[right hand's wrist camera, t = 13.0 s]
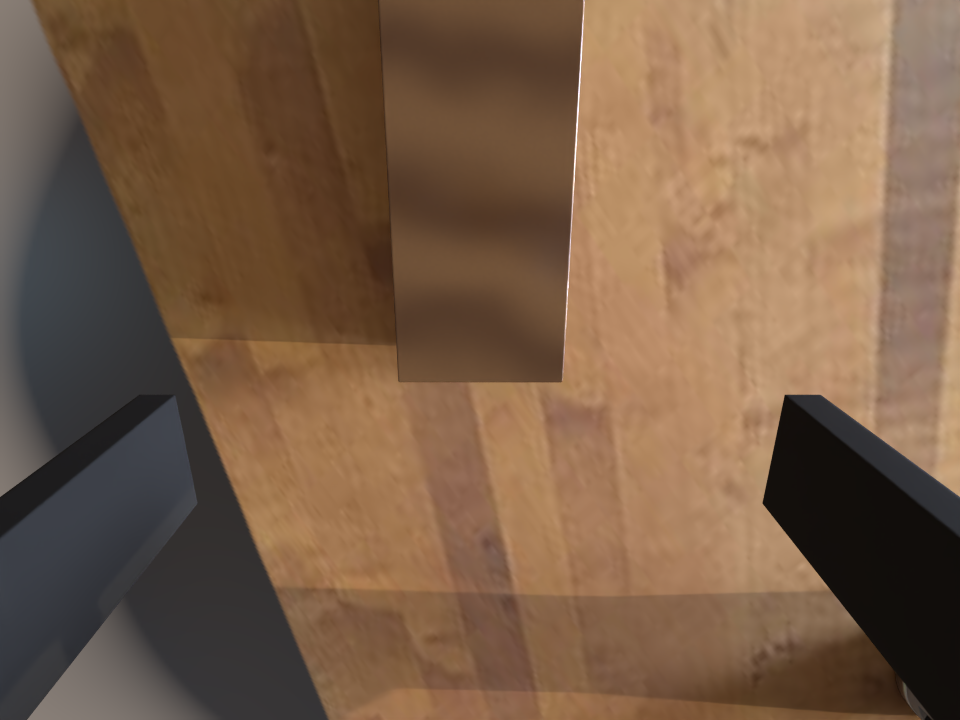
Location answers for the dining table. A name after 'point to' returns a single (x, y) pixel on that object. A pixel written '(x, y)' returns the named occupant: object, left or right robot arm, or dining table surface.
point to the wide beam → (481, 183)
